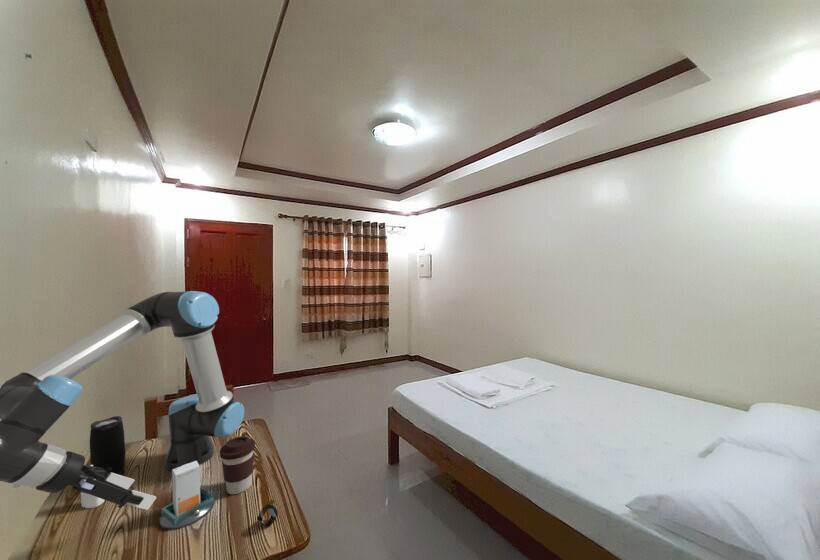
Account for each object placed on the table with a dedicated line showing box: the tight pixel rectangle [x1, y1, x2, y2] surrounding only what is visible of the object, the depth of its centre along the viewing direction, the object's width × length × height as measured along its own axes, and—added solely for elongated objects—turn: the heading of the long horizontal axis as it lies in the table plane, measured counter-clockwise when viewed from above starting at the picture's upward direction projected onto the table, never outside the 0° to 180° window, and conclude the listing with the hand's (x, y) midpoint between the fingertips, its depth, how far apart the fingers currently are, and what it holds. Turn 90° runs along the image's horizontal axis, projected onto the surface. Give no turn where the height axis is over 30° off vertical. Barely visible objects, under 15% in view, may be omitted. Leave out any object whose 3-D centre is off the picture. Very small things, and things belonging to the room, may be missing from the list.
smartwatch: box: [256, 503, 279, 528], centre depth 85 cm, size 4×5×5 cm
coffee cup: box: [219, 435, 256, 495], centre depth 100 cm, size 10×10×15 cm
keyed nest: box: [159, 487, 216, 531], centre depth 91 cm, size 13×13×3 cm
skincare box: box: [171, 461, 201, 517], centre depth 91 cm, size 6×4×12 cm
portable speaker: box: [89, 415, 126, 476], centre depth 107 cm, size 9×9×20 cm
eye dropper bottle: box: [80, 464, 106, 509], centre depth 94 cm, size 4×6×12 cm
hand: (140, 493), depth 81 cm, fingers open, 13 cm apart
